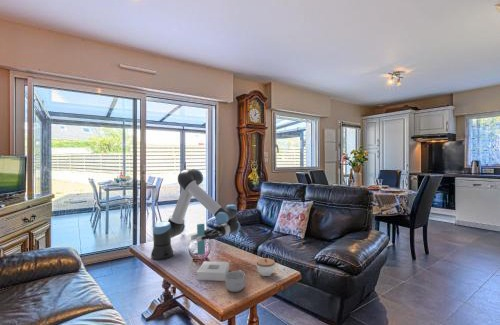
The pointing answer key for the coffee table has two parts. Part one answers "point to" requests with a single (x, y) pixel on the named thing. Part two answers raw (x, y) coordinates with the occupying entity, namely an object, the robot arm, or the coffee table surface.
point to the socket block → (213, 271)
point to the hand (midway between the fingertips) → (194, 238)
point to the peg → (202, 243)
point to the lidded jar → (265, 266)
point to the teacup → (235, 280)
